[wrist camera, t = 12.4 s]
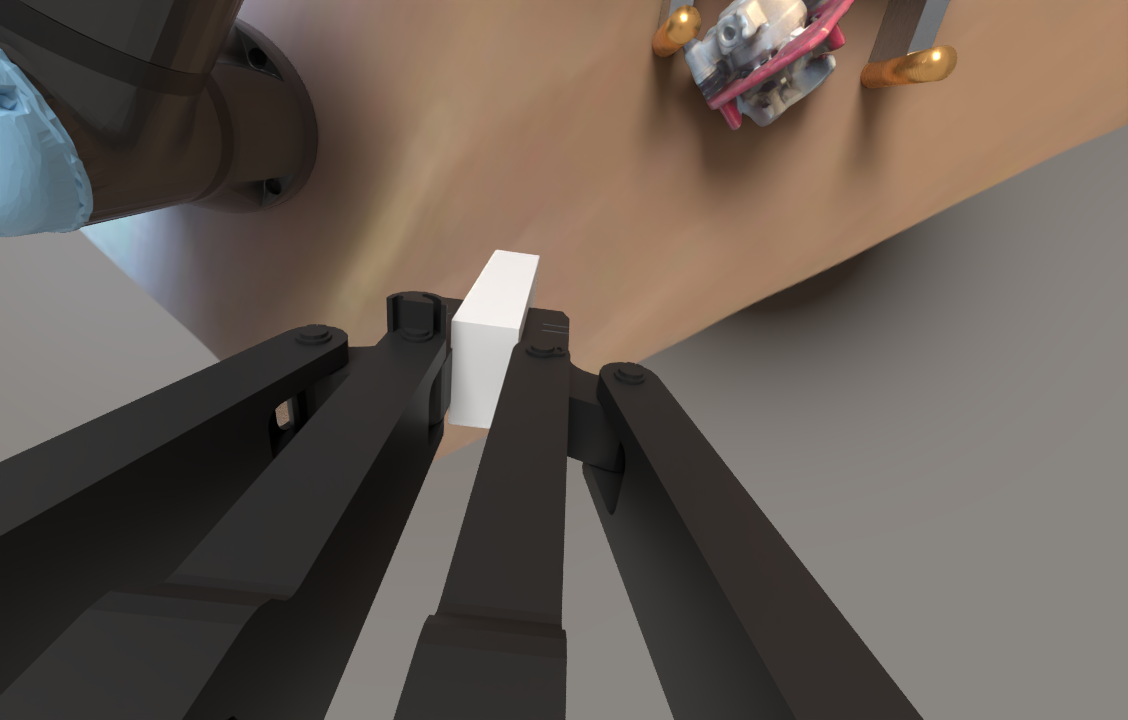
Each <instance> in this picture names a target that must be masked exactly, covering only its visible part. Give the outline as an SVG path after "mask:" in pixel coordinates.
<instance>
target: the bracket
mask: <svg viewBox="0 0 1128 720" xmlns="http://www.w3.org/2000/svg"><path fill="white" fill-rule="evenodd" d="M949 1H950V0H890V2H889V5H888V8H887V11H886V13H885V16H884V19H883V22H882V25H881V28H880V31H879V34H878V36H877V39H876V42H875V45H874V48H873V51H872V54H871V57H870V59H869V62H868V64H867V65H866V66H865V67H864V69H863V71H862V73H861V82H862V84H863V85H864V86H865V87H866V88H880V87H889V86H898V85H906V84H915V83H924V82H933V81H940V80H943V79H945V78H946V77H947V76H949V75H950V74H951V73H952V71H953V70H954V68H955V66H956V63H957V53H956V51H955V49H954V48H953V47H951V46H940V47H935V48H931V47H932V45H933V42H934V39H935V37H936V34H937V32H938V29H939V27H940V24H941V22H942V19H943V17H944V14H945V11H946V9H947V6H948V4H949ZM693 2H694V0H663V2H662V8H661V13H660V19H659V24H658V30H657V32H656V33H655V35H654V37H653V40H652V47H653V50H654V52H655V53H656V54H657V55H658V56H660V57H667V56H669V55H671V54H672V53H674V52H675V51H677V50H678V49H680V48H681V47H682V46H684V45H685V44H687V43H688V42H689V41H691V40H692V39H693V38H695V36H696V35H697V34H698V32H699V30H700V26H701V17H700V14H699V12H698V11H697V9H696V8H694V7H693Z"/></svg>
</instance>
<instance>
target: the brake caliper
mask: <svg viewBox="0 0 1128 720" xmlns="http://www.w3.org/2000/svg"><path fill="white" fill-rule="evenodd" d="M854 1H855V0H734V1H733V2H732V3H731V4H730V5H729V6H728V7H727V8H726V9H725V10H724V11H723V12H722V13H721V14H720V15H719V17H718V23H717V24H716V25H715V26H713V27H711V28H710V29H709V30H708V32H707V33H706V35H705V38H704V39H703V41H699V40H697V39H696V38H693V39H692V40H691V41H689V42H688V43H687V44H685V45H684V46H683V50H684V57H685V61H686V63H687V65H688V66H689V68H690V70H691V73H692V75H693V78H694V80H695V82H696V84H697V86H698V87H699V88H700V90H701V92H702V93H703V95H704V98H705V100H706V102H707V104H708V105H709V108H710V109H712V110H714V109H719V110H720V112H721V113H722V115H723V116H724V118H725V120H726V122H727V124H728V125H729V127H730V128H731V129H732V130H737V129H738V128H739V127H740V126H741V124H742V113H743V114H745V115H747V116H749V117H750V118H751V119H752V120H753V121H754V122H755V123H756V124H758V125H759V126H762V127H763V126H767V125H769V124H771V123H772V122H773V121H774V120H775V119H777V118H778V117H780V116H781V115H782V114H783V112H784V111H785V110H786V109H787V108H788V107H790V106H791V105H793V104H794V103H796V102H797V101H798V100H800V99H802V98H803V97H805V96H806V95H808V94H809V93H810V92H812V91H813V90H814V89H815V88H817V87H818V86H820V85H821V84H823V83H824V81H825V80H826V79H827V77H828V76H829V75H830V74H831V73H832V72H833V71H834V69H835V66H836V64H835V58H834V56H833V55H832V54H822V53H824V52H830V51H833V50H836V49H839V48H840V47H842V46H843V45H844V44H845V43H846V39H845V36H844V34H843V32H842V30H841V28H840V26H839V25H838V23H837V22H838V21H839V20H840V19H841V18H842V17H843V16H844V15H845V14H846V13H847V11H848V10H849V7H850V6H851V4H852V3H853V2H854ZM820 54H822V55H820ZM819 55H820V56H819Z"/></svg>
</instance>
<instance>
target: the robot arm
mask: <svg viewBox="0 0 1128 720" xmlns="http://www.w3.org/2000/svg"><path fill="white" fill-rule="evenodd" d="M243 1H244V0H0V237H12V236H22V235H29V234H35V233H42V232H62V233H66V232H71V231H74V230H77V229H80V228H81V227H84V226H88V225H93V224H97V223H101V222H106V221H110V220H114V219H119V218H123V217H127V216H132V215H136V214H140V213H145V212H149V211H153V210H158V209H162V208H167V207H171V206H175V205H179V204H184V203H187V204H191V205H196V206H200V207H204V208H209V209H213V210H218V211H223V212H232V213H244V212H254V211H258V210H262V209H266V208H269V207H273V206H276V205H278V204H281V203H283V202H284V201H286V200H288V199H289V198H291V197H292V196H293V195H295V194H296V193H297V192H298V191H299V190H300V189H301V187H302V186H303V185H304V183H305V182H306V180H307V179H308V177H309V175H310V173H311V171H312V168H313V165H314V161H315V158H316V152H317V125H316V119H315V114H314V110H313V106H312V103H311V100H310V98H309V95H308V92H307V90H306V88H305V86H304V84H303V82H302V80H301V78H300V76H299V75H298V73H297V71H296V70H295V68H294V67H293V65H292V64H291V63H290V61H289V60H288V59H287V57H286V56H285V55H284V54H283V53H282V52H281V50H280V49H279V48H278V47H277V46H276V45H275V44H274V43H273V42H272V41H271V40H269V39H268V38H267V37H266V36H265V35H263V34H262V33H261V32H260V31H258V30H257V29H255V28H254V27H252V26H251V25H249V24H247V23H246V22H244V21H242V20H240V19H238V18H236V17H237V14H238V12H239V10H240V8H241V5H242V3H243ZM538 265H539V256H538V255H530V254H523V253H516V252H508V251H501V250H495V252H494V254H493V255H492V257H491V258H490V260H489V262H488V263H487V265H486V266H485V268H484V270H483V271H482V273H481V274H480V276H479V277H478V279H477V281H476V282H475V284H474V285H473V287H472V289H471V290H470V292H469V293H468V295H467V297H466V298H465V300H460V299H452V298H445V297H441V296H439V295H436V294H432V293H428V292H417V291H410V292H400V293H396V294H392V295H390V296H388V297H387V328H388V332H387V333H386V334H385V335H384V337H383V338H382V339H381V340H380V341H379V342H378V343H377V344H376V346H369V347H348V335H347V334H346V333H345V332H344V331H343V330H341V329H338V328H336V327H330V326H326V325H320V324H318V326H316V324H313V325H307V326H305V327H298V328H295V329H292V330H289V331H286V332H284V333H282V334H280V335H278V336H275V337H273V338H271V339H269V340H267V341H264V342H262V343H260V344H258V345H256V346H253V347H251V348H249V349H247V350H245V351H243V352H240V353H238V354H236V355H234V356H232V357H229V358H227V359H225V360H223V361H221V362H218V363H216V364H214V365H212V366H210V367H207V368H205V369H203V370H201V371H199V372H197V373H194V374H192V375H190V376H188V377H186V378H183V379H181V380H179V381H177V382H175V383H172V384H170V385H168V386H166V387H164V388H161V389H159V390H157V391H155V392H153V393H151V394H148V395H146V396H144V397H142V398H140V399H138V400H135V401H133V402H131V403H129V404H126V405H124V406H122V407H120V408H118V409H115V410H113V411H111V412H109V413H107V414H105V415H102V416H100V417H98V418H96V419H94V420H91V421H89V422H87V423H85V424H83V425H80V426H78V427H76V428H74V429H72V430H69V431H67V432H65V433H63V434H61V435H59V436H56V437H54V438H52V439H50V440H47V441H45V442H43V443H41V444H39V445H37V446H35V447H32V448H30V449H28V450H26V451H23V452H21V453H19V454H17V455H15V456H12V457H10V458H8V459H6V460H4V461H2V462H0V720H324V718H325V715H326V713H327V710H328V708H329V706H330V703H331V701H332V699H333V696H334V694H335V692H336V689H337V687H338V684H339V682H340V680H341V677H342V675H343V673H344V670H345V668H346V665H347V663H348V660H349V658H350V656H351V653H352V651H353V649H354V646H355V644H356V641H357V639H358V637H359V634H360V632H361V629H362V627H363V625H364V623H365V620H366V618H367V615H368V613H369V611H370V608H371V606H372V603H373V601H374V599H375V596H376V594H377V592H378V589H379V587H380V584H381V582H382V580H383V577H384V575H385V573H386V570H387V568H388V565H389V563H390V561H391V558H392V556H393V553H394V551H395V549H396V546H397V544H398V542H399V539H400V537H401V534H402V532H403V530H404V527H405V525H406V523H407V520H408V518H409V515H410V513H411V511H412V508H413V506H414V503H415V501H416V499H417V496H418V494H419V492H420V489H421V487H422V485H423V482H424V480H425V477H426V475H427V473H428V470H429V468H430V465H431V463H432V461H433V458H434V456H435V454H436V451H437V449H438V446H439V444H440V442H441V439H442V437H443V433H444V416H445V413H446V411H447V409H448V407H449V417H448V424H456V425H464V426H472V427H481V428H489V429H490V430H489V433H488V437H487V440H486V444H485V447H484V451H483V454H482V458H481V461H480V464H479V468H478V471H477V475H476V478H475V482H474V486H473V489H472V492H471V496H470V499H469V503H468V506H467V510H466V513H465V517H464V520H463V524H462V527H461V530H460V535H459V537H458V541H457V544H456V548H455V552H454V555H453V558H452V562H451V566H450V569H449V572H448V576H447V579H446V583H445V586H444V590H443V593H442V596H441V600H440V603H439V606H438V609H437V612H436V614H435V615H429V616H428V618H427V619H426V621H425V623H424V625H423V628H422V631H421V634H420V636H419V639H418V642H417V645H416V648H415V651H414V655H413V658H412V661H411V664H410V668H409V672H408V674H407V677H406V681H405V684H404V687H403V691H402V693H401V697H400V700H399V703H398V706H397V710H396V713H395V716H394V720H565V713H566V711H565V710H566V666H567V639H566V631H565V630H562V622H561V621H562V620H561V619H562V588H563V587H562V585H563V558H564V529H565V497H566V470H567V468H566V467H567V456H568V457H571V458H574V459H577V460H580V461H582V462H583V465H582V469H583V475H584V478H585V480H586V483H587V486H588V488H589V491H590V494H591V497H592V499H593V502H594V505H595V507H596V510H597V513H598V515H599V518H600V521H601V523H602V526H603V529H604V532H605V534H606V537H607V540H608V542H609V545H610V548H611V551H612V553H613V556H614V559H615V561H616V564H617V567H618V569H619V572H620V575H621V577H622V580H623V583H624V586H625V588H626V591H627V594H628V596H629V599H630V602H631V604H632V607H633V610H634V612H635V615H636V618H637V621H638V623H639V626H640V629H641V631H642V634H643V637H644V639H645V642H646V645H647V648H648V650H649V653H650V656H651V658H652V661H653V664H654V666H655V669H656V672H657V675H658V677H659V680H660V683H661V685H662V688H663V691H664V693H665V696H666V699H667V702H668V704H669V707H670V710H671V712H672V715H673V718H674V720H923V718H922V717H921V716H920V714H919V713H918V712H917V710H916V709H915V708H914V707H913V705H912V704H911V703H910V701H909V700H908V699H907V698H906V696H905V695H904V694H903V692H902V691H901V690H900V689H899V687H898V686H897V685H896V683H895V682H894V681H893V680H892V678H891V677H890V676H889V674H888V673H887V672H886V670H885V669H884V668H883V667H882V665H881V664H880V663H879V661H878V660H877V659H876V658H875V656H874V655H873V654H872V652H871V651H870V650H869V649H868V647H867V646H866V645H865V644H864V642H863V641H862V639H861V638H860V637H859V636H858V634H857V633H856V632H855V631H854V629H853V628H852V627H851V625H850V624H849V623H848V621H847V620H846V619H845V618H844V616H843V615H842V614H841V612H840V611H839V610H838V608H837V607H836V606H835V605H834V603H833V602H832V601H831V599H830V598H829V597H828V596H827V594H826V593H825V592H824V590H823V589H822V588H821V587H820V585H819V584H818V583H817V581H816V580H815V579H814V578H813V576H812V575H811V574H810V572H809V571H808V570H807V568H806V567H805V566H804V565H803V563H802V562H801V561H800V559H799V558H798V557H797V556H796V554H795V553H794V552H793V550H792V549H791V548H790V547H789V545H788V544H787V543H786V541H785V540H784V539H783V538H782V536H781V535H780V534H779V532H778V531H777V530H776V528H775V527H774V526H773V525H772V523H771V522H770V521H769V520H768V518H767V517H766V516H765V514H764V513H763V512H762V510H761V509H760V508H759V507H758V505H757V504H756V503H755V501H754V500H753V499H752V497H751V496H750V495H749V494H748V492H747V491H746V490H745V488H744V487H743V486H742V485H741V483H740V482H739V481H738V479H737V478H736V477H735V476H734V474H733V473H732V472H731V470H730V469H729V468H728V467H727V465H726V464H725V463H724V461H723V460H722V459H721V457H720V456H719V455H718V454H717V453H716V451H715V450H714V448H713V447H712V446H711V445H710V443H709V442H708V441H707V439H706V438H705V437H704V435H703V434H702V433H701V432H700V430H699V429H698V428H697V426H696V425H695V424H694V423H693V421H692V420H691V419H690V418H689V416H688V415H687V414H686V412H685V411H684V410H683V409H682V407H681V406H680V405H679V403H678V402H677V401H676V399H675V398H674V397H673V396H672V394H671V393H670V392H669V390H668V389H667V388H666V387H665V385H664V384H663V383H662V381H661V380H660V379H659V378H658V376H657V375H655V374H654V373H653V372H652V371H650V370H648V369H646V368H644V367H643V366H641V365H639V364H636V365H635V363H631V362H627V363H623V362H617V363H609V364H607V365H604V366H603V367H602V368H601V370H600V373H599V376H598V375H595V374H591V373H589V372H586V371H583V370H581V369H579V368H578V367H576V366H575V365H573V364H572V363H571V361H570V353H569V350H568V343H569V318H568V317H567V316H566V315H565V314H564V313H563V312H561V311H553V310H546V309H538V308H534V302H535V293H536V284H537V274H538ZM286 400H287V406H288V414H289V421H288V422H287V423H285V424H284V425H282V426H280V427H279V426H278V424H277V419H276V412H275V409H276V408H277V407H278V406H279V405H280V404H282V403H283V402H285V401H286Z"/></svg>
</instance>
